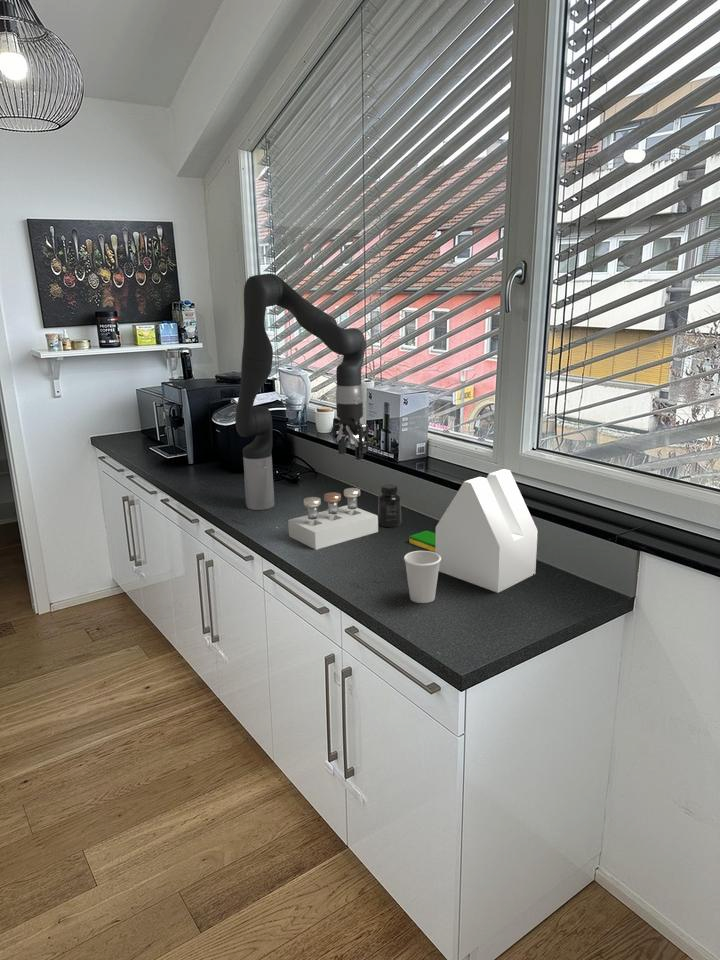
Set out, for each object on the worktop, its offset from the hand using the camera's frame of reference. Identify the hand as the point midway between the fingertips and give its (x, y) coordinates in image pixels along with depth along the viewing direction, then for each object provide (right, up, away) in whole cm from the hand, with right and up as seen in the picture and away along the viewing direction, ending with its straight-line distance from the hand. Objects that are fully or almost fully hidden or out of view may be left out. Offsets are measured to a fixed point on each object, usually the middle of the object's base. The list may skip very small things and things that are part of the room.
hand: (350, 456), depth 195 cm
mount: (-5, -23, +2) cm, 23 cm away
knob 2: (0, -15, +4) cm, 16 cm away
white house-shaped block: (+34, -30, -26) cm, 52 cm away
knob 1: (-11, -18, -4) cm, 21 cm away
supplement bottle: (+12, -20, +9) cm, 25 cm away
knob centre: (-5, -16, 0) cm, 17 cm away
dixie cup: (+17, -34, -40) cm, 55 cm away
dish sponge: (+23, -26, -8) cm, 36 cm away
